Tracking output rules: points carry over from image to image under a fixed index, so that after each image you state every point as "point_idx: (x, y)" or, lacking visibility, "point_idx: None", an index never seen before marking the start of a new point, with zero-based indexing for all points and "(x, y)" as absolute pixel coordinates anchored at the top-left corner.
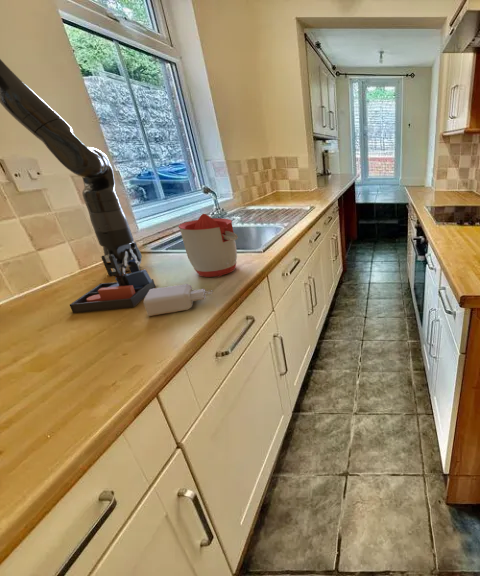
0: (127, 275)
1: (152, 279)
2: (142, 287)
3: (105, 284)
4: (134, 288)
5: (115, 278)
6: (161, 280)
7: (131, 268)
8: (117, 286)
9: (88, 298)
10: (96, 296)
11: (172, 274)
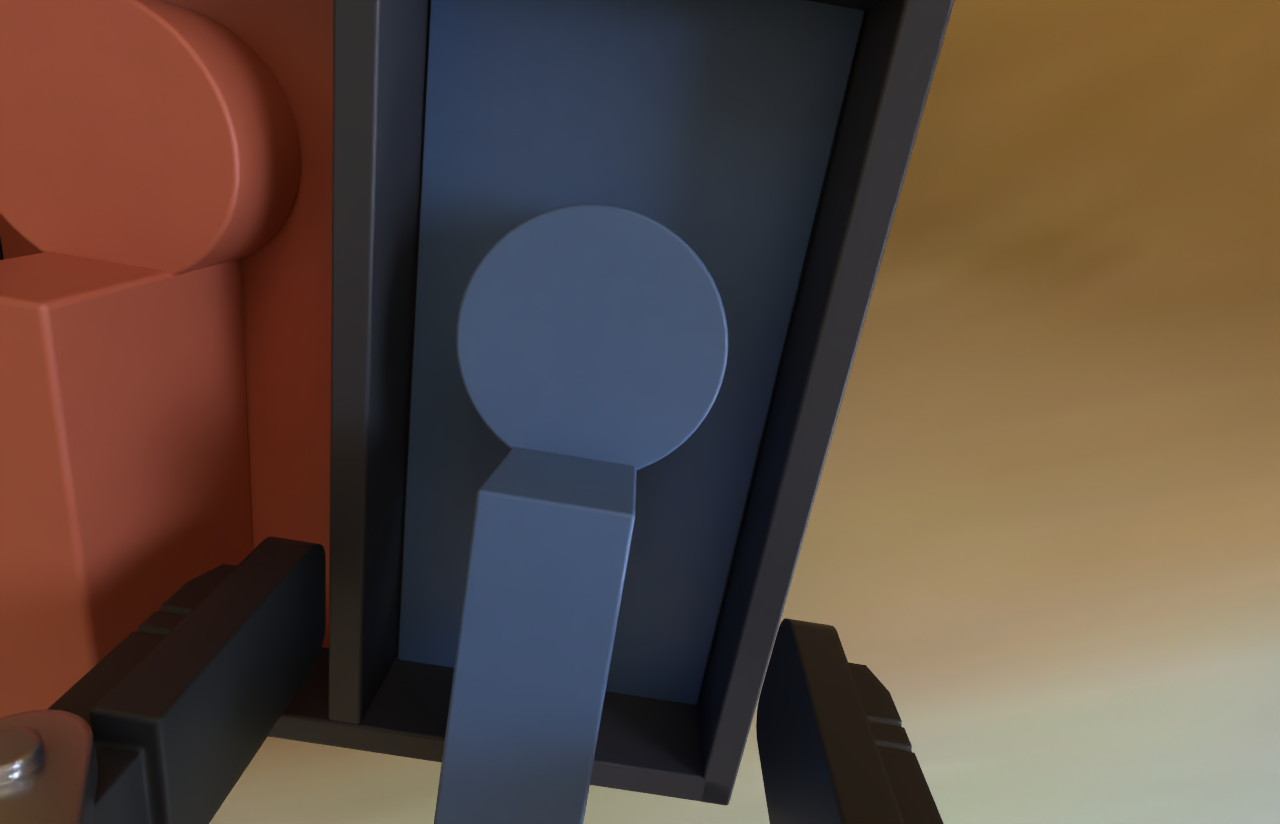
0: (443, 756)
1: (712, 802)
2: (384, 739)
3: (877, 69)
4: (669, 519)
5: (479, 496)
6: (948, 735)
7: (824, 817)
8: (73, 595)
9: (29, 22)
10: (123, 148)
11: (1140, 820)
